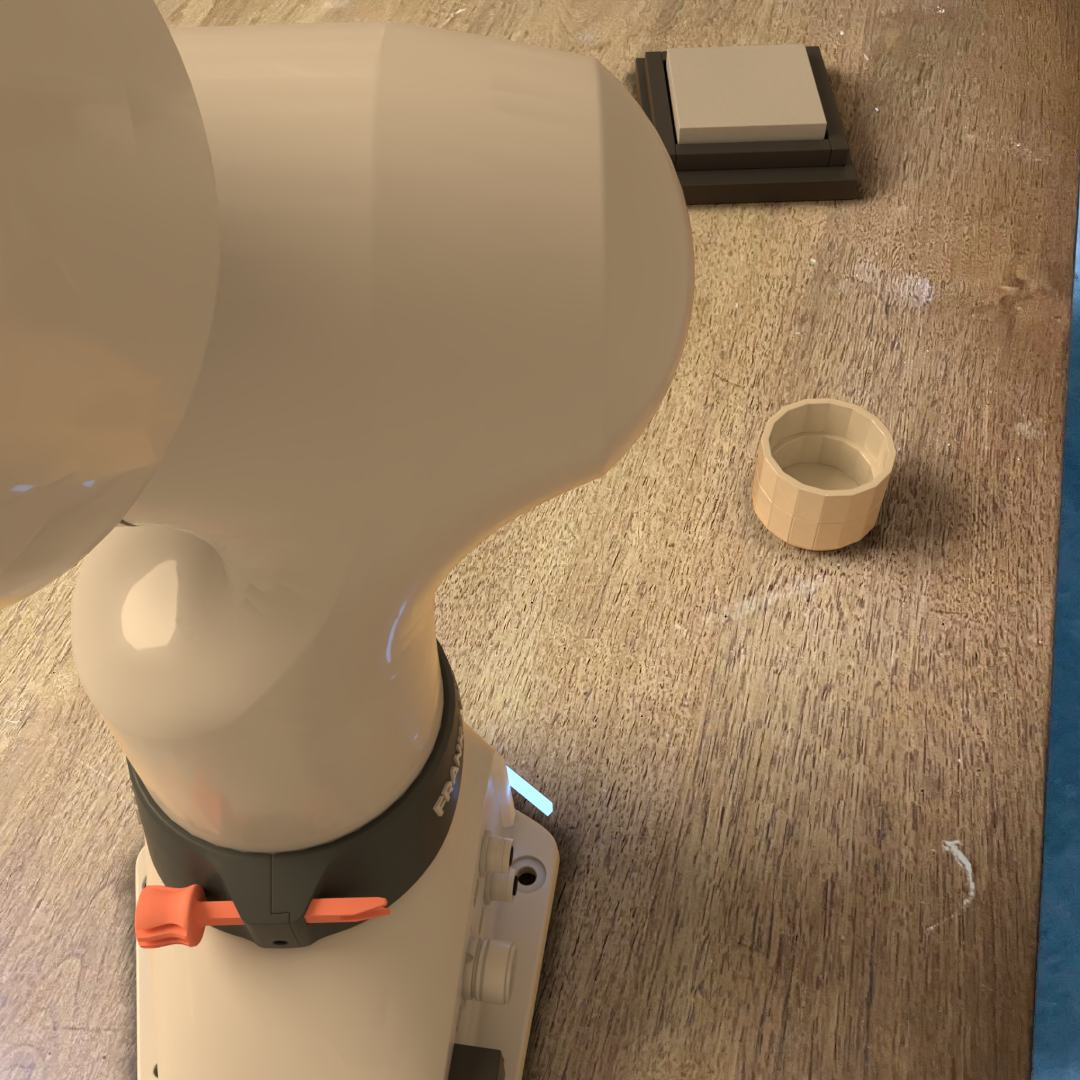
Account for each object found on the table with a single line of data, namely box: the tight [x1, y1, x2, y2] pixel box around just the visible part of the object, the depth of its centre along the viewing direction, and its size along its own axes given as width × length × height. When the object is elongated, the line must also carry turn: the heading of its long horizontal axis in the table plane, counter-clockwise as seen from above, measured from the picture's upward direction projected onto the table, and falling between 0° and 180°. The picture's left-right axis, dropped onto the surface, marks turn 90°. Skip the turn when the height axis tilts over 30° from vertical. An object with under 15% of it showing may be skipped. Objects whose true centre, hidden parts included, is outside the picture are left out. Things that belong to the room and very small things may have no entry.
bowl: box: [751, 397, 897, 552], centre depth 64 cm, size 7×7×5 cm
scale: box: [634, 45, 859, 205], centre depth 87 cm, size 16×14×3 cm
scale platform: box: [666, 43, 827, 144], centre depth 85 cm, size 10×10×2 cm
